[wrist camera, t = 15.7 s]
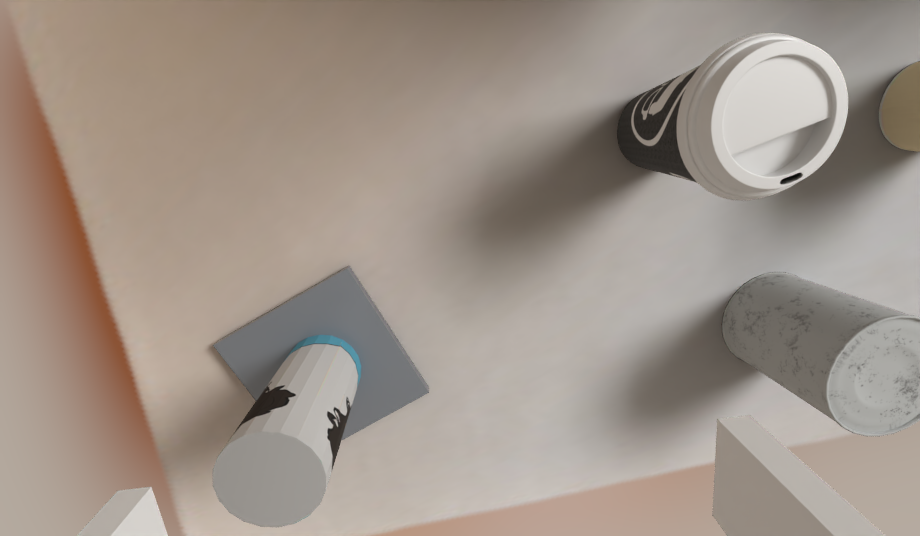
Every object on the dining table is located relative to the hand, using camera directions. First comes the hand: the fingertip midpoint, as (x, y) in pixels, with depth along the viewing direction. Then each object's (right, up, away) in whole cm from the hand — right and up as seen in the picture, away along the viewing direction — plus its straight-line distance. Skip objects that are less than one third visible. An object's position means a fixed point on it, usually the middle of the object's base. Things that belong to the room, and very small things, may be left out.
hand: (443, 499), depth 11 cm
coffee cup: (+17, +17, +30) cm, 38 cm away
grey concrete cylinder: (+31, +1, +35) cm, 46 cm away
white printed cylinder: (-12, -4, +32) cm, 34 cm away
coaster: (-12, -4, +33) cm, 35 cm away
